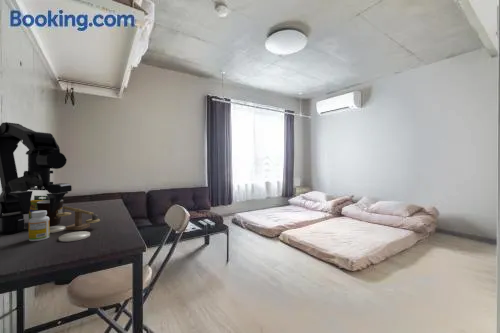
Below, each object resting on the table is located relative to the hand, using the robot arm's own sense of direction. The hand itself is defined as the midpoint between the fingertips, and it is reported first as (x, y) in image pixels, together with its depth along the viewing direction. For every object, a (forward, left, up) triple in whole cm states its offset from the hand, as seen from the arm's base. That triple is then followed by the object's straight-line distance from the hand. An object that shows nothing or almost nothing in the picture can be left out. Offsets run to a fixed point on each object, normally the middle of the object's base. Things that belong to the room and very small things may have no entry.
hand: (39, 212), depth 79 cm
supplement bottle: (0, 0, -10) cm, 10 cm away
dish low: (+11, +2, -10) cm, 15 cm away
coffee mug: (-11, +19, -10) cm, 24 cm away
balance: (+4, +13, -10) cm, 17 cm away
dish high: (-3, +9, -10) cm, 14 cm away
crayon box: (-19, +21, -10) cm, 30 cm away
